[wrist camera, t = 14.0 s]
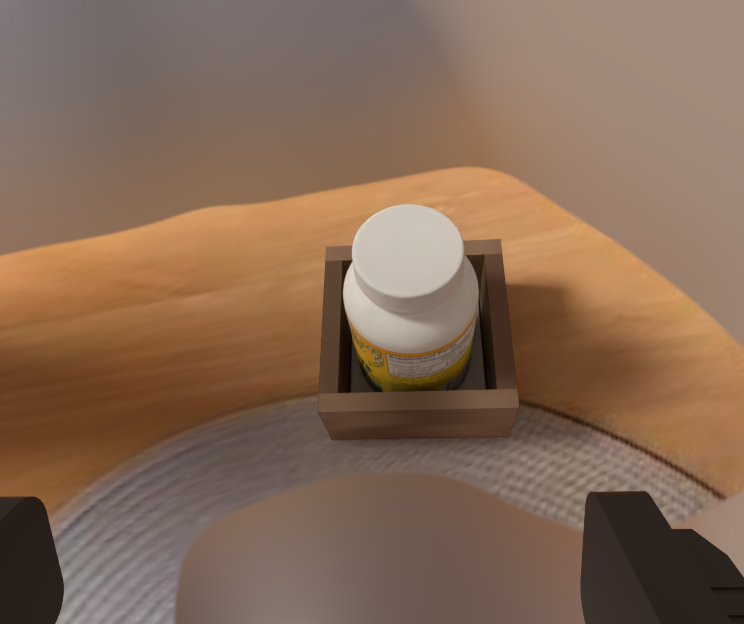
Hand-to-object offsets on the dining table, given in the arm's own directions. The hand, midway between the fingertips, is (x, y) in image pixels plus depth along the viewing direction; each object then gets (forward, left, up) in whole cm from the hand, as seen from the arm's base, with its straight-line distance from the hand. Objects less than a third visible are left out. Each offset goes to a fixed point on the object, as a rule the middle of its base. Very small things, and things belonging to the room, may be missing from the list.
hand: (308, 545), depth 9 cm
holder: (+1, +11, -19) cm, 22 cm away
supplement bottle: (+1, +11, -18) cm, 21 cm away
